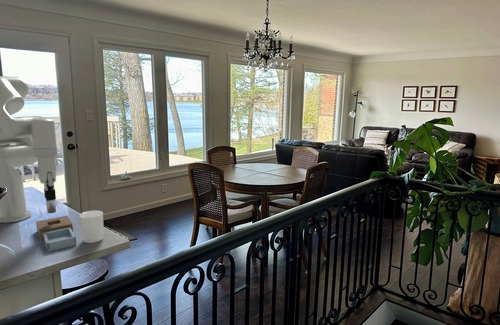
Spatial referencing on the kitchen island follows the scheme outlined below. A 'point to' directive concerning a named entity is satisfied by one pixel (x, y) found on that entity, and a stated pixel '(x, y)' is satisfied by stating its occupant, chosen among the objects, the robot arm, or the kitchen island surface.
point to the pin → (50, 205)
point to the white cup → (92, 226)
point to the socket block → (53, 225)
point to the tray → (59, 239)
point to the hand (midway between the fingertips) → (50, 198)
